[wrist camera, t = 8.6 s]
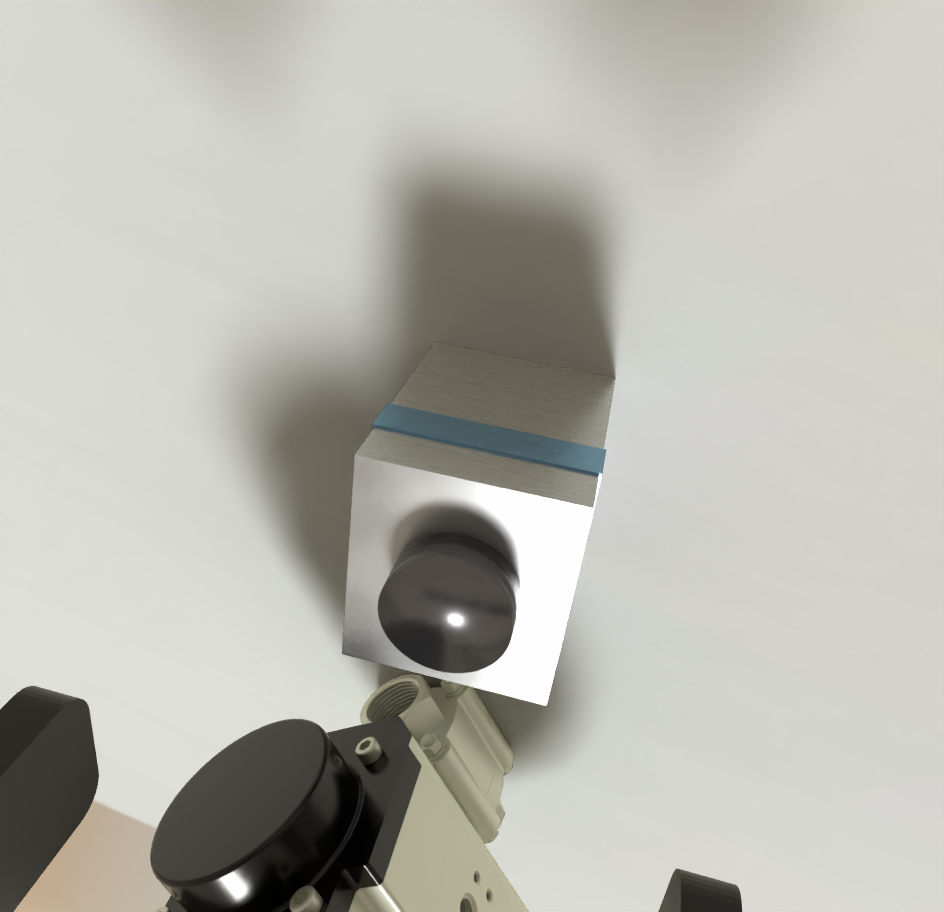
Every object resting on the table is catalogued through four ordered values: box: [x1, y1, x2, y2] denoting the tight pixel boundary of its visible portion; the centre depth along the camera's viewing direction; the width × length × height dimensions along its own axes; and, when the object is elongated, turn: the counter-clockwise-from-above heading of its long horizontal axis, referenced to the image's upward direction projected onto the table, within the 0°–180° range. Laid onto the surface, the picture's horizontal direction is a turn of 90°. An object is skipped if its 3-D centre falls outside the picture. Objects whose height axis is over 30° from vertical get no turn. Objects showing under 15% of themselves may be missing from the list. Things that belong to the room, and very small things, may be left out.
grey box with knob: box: [342, 342, 615, 706], centre depth 19 cm, size 5×5×7 cm
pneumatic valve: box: [150, 674, 529, 912], centre depth 22 cm, size 6×12×12 cm, turn 27°
